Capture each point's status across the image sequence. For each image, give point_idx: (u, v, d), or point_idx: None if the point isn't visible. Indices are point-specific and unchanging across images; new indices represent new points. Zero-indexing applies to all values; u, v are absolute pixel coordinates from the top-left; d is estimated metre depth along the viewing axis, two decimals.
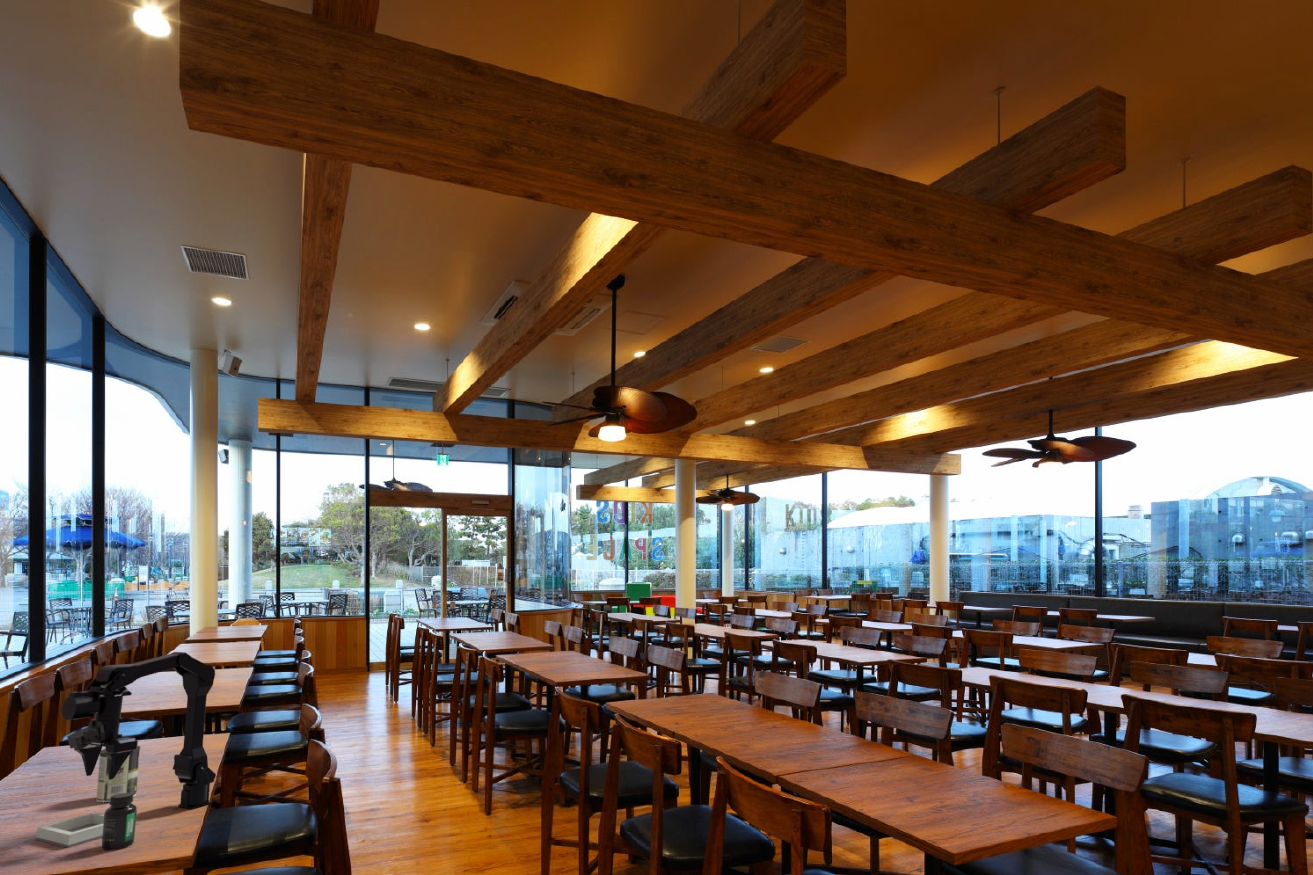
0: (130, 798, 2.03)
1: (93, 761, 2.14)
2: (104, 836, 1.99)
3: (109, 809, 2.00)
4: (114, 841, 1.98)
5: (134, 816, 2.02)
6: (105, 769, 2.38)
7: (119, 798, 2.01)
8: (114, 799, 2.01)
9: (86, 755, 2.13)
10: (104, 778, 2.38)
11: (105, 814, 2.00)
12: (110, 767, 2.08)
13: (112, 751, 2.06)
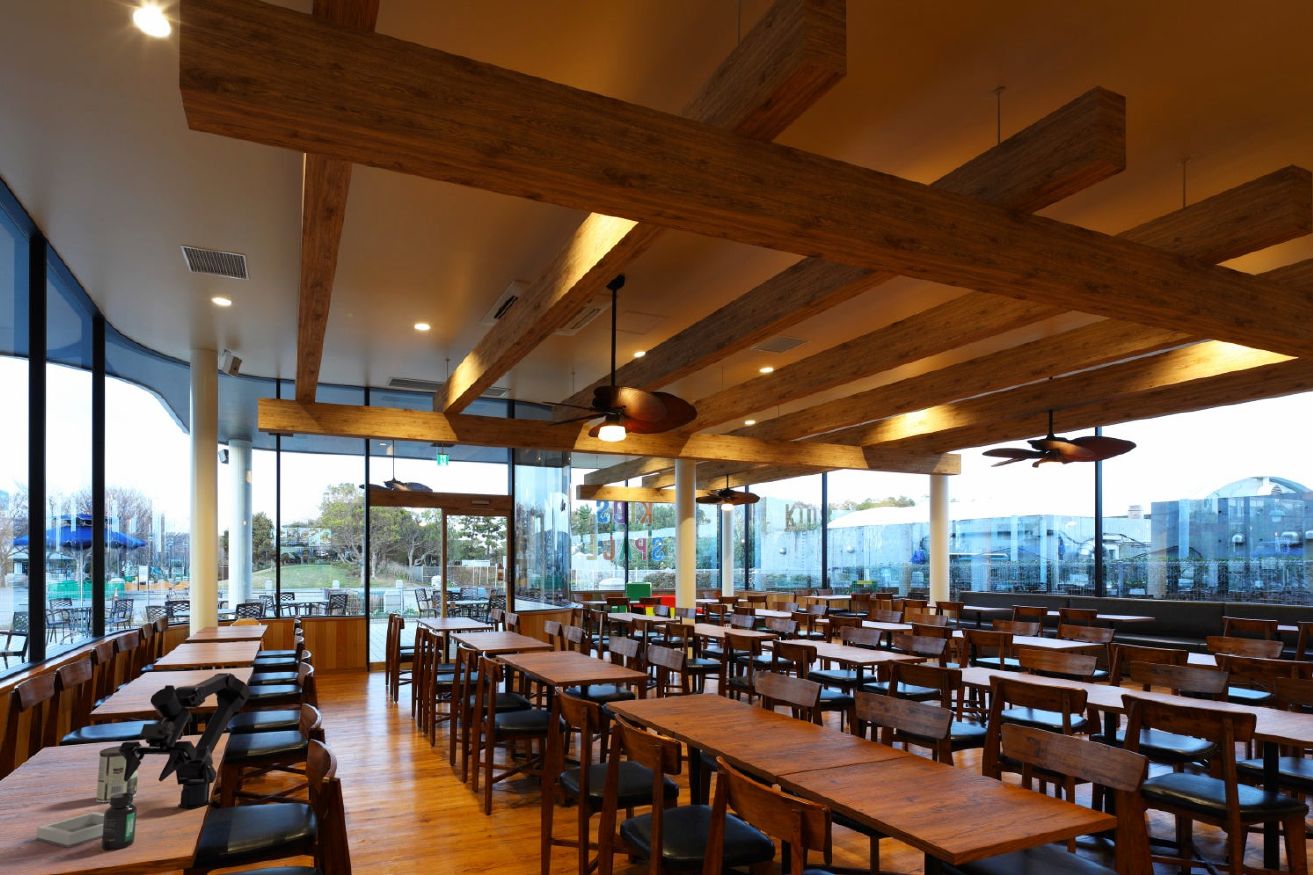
0: (130, 798, 2.03)
1: (132, 770, 2.14)
2: (104, 836, 1.99)
3: (109, 809, 2.00)
4: (114, 841, 1.98)
5: (134, 816, 2.02)
6: (105, 769, 2.38)
7: (119, 798, 2.01)
8: (114, 799, 2.01)
9: (132, 760, 2.14)
10: (104, 778, 2.38)
11: (105, 814, 2.00)
12: (167, 767, 2.13)
13: (183, 747, 2.15)
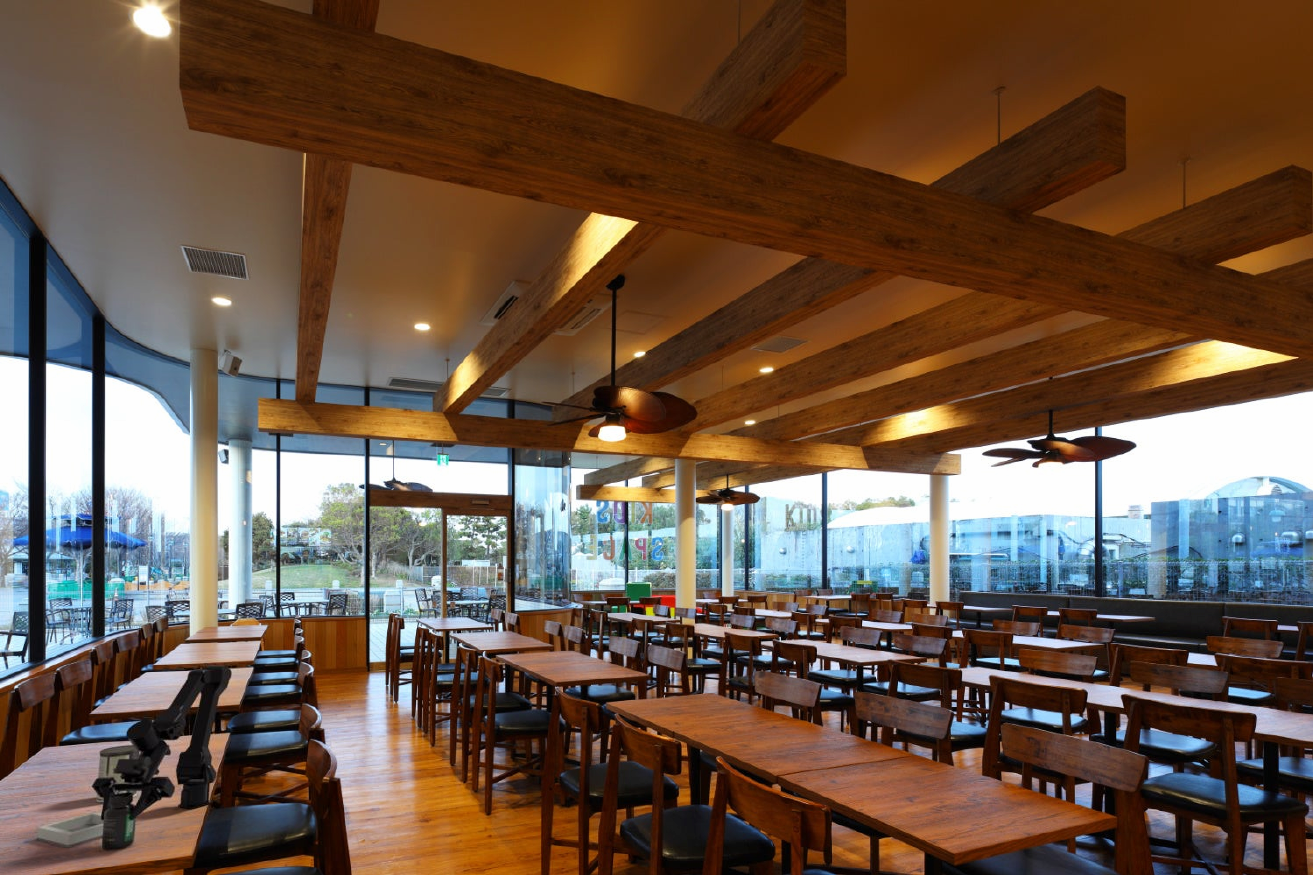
0: (130, 798, 2.03)
1: None
2: (104, 836, 1.99)
3: (109, 809, 2.00)
4: (114, 841, 1.98)
5: None
6: (105, 769, 2.38)
7: (119, 798, 2.01)
8: (114, 799, 2.01)
9: None
10: None
11: (105, 814, 2.00)
12: (138, 804, 2.02)
13: (160, 783, 2.05)
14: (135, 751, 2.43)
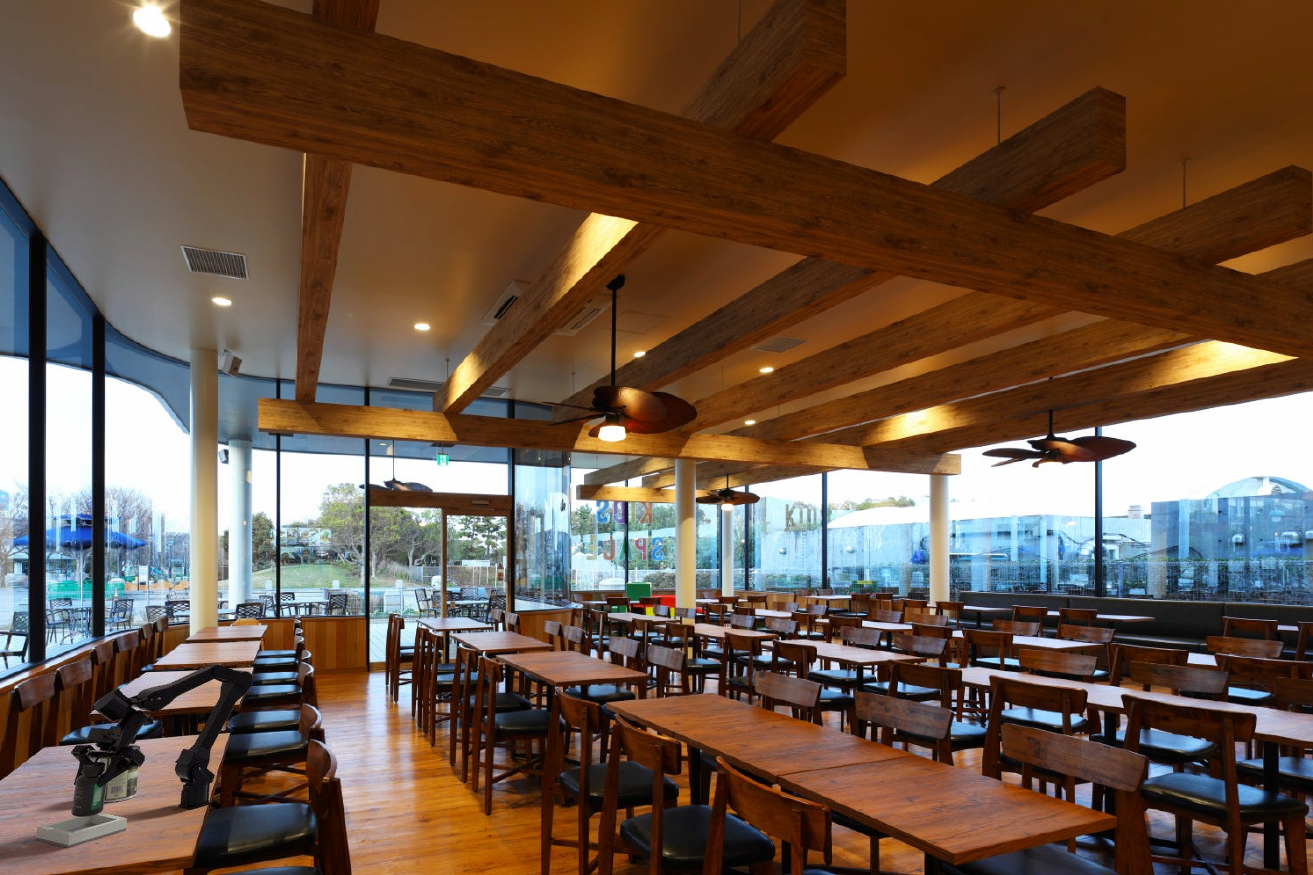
0: (100, 768, 2.09)
1: None
2: (73, 802, 2.06)
3: (80, 776, 2.07)
4: (80, 808, 2.05)
5: (103, 786, 2.09)
6: (105, 769, 2.38)
7: (89, 767, 2.07)
8: (85, 768, 2.07)
9: None
10: None
11: (76, 781, 2.07)
12: (106, 772, 2.08)
13: (127, 753, 2.10)
14: None
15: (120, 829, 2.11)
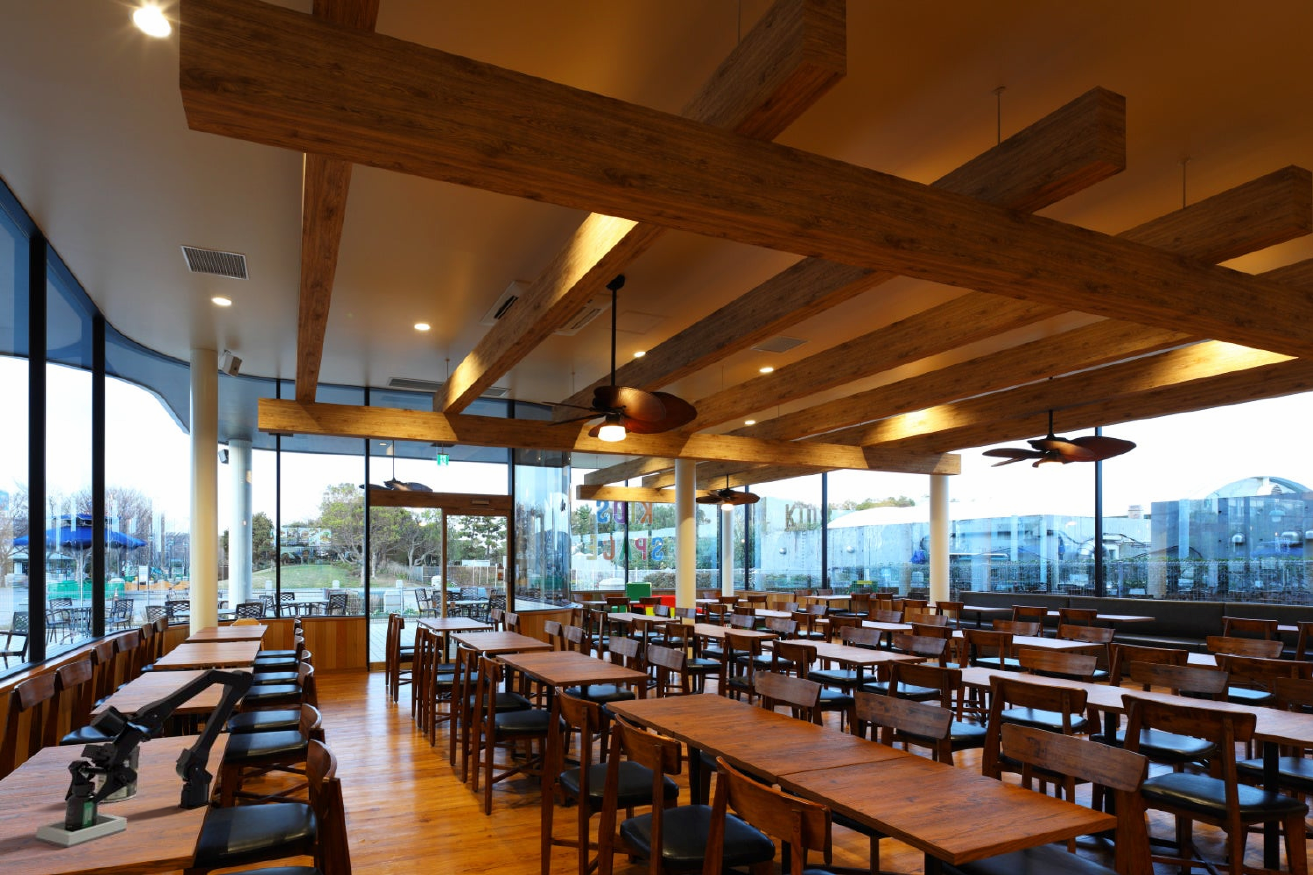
0: (90, 787, 2.10)
1: None
2: (65, 822, 2.08)
3: (71, 796, 2.09)
4: (71, 827, 2.07)
5: (93, 805, 2.10)
6: None
7: (78, 786, 2.09)
8: (74, 787, 2.09)
9: (77, 780, 2.14)
10: (104, 778, 2.38)
11: (67, 801, 2.09)
12: (101, 789, 2.10)
13: (118, 770, 2.11)
14: (135, 751, 2.43)
15: (120, 829, 2.11)
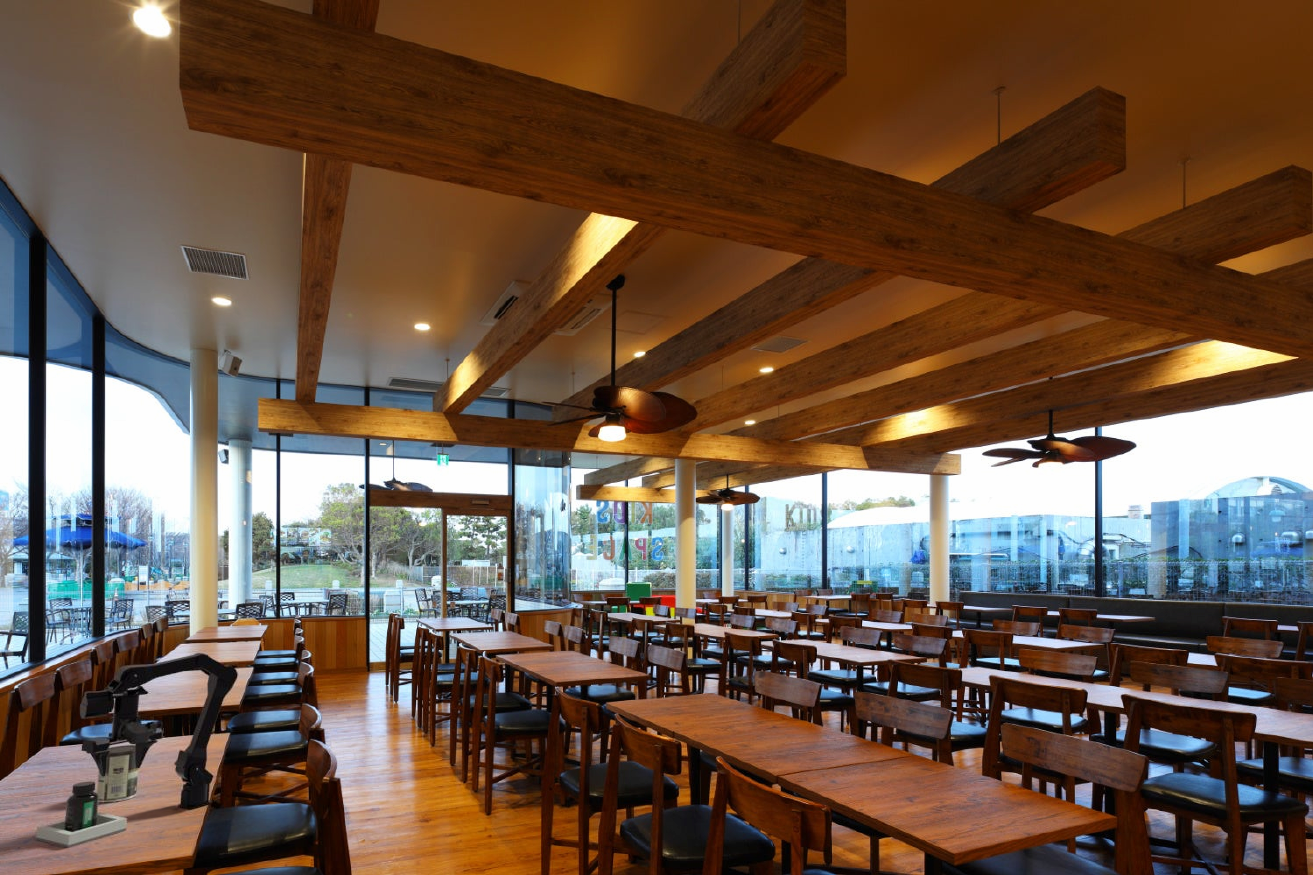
0: (90, 787, 2.10)
1: None
2: (65, 822, 2.08)
3: (71, 796, 2.09)
4: (71, 827, 2.07)
5: (93, 805, 2.10)
6: None
7: (78, 786, 2.09)
8: (74, 787, 2.09)
9: None
10: (104, 778, 2.38)
11: (67, 801, 2.09)
12: (144, 756, 2.26)
13: (160, 737, 2.28)
14: None
15: (120, 829, 2.11)
